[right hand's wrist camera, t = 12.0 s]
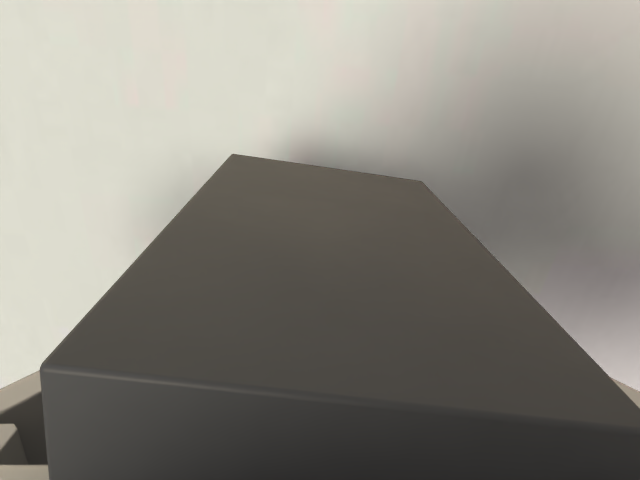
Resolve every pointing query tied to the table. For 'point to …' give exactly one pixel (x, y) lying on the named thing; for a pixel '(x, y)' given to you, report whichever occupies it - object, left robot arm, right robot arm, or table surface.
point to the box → (326, 349)
